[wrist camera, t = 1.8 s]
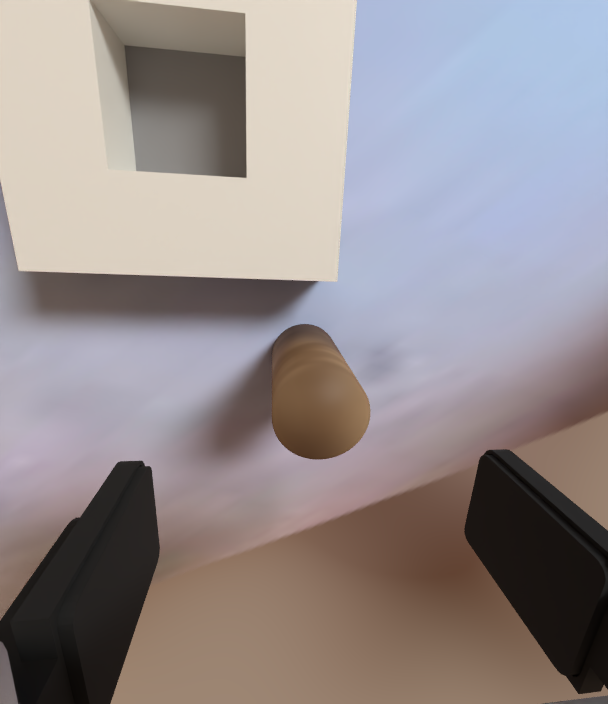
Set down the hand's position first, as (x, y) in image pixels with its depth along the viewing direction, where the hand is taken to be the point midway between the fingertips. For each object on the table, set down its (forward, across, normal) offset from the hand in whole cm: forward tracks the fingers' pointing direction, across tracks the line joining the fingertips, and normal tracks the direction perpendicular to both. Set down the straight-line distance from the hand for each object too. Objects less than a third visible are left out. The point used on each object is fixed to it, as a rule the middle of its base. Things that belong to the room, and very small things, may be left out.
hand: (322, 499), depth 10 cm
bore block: (+12, +5, -12) cm, 18 cm away
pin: (+12, -1, 0) cm, 12 cm away
